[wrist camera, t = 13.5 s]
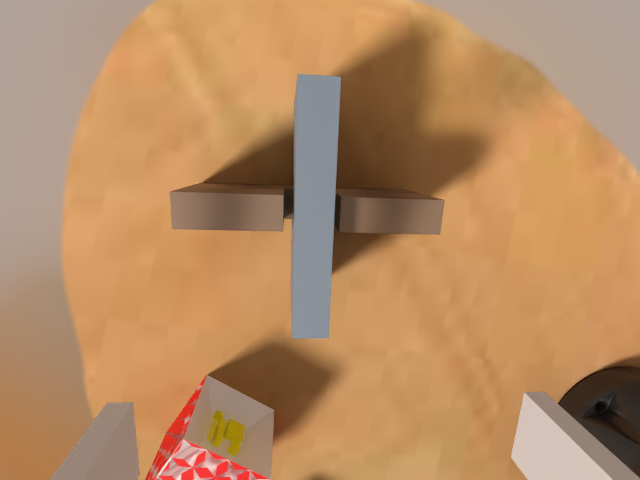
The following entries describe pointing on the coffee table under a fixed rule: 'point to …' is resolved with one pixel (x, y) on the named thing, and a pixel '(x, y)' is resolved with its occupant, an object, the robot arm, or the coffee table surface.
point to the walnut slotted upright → (277, 204)
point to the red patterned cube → (217, 438)
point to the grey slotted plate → (313, 202)
